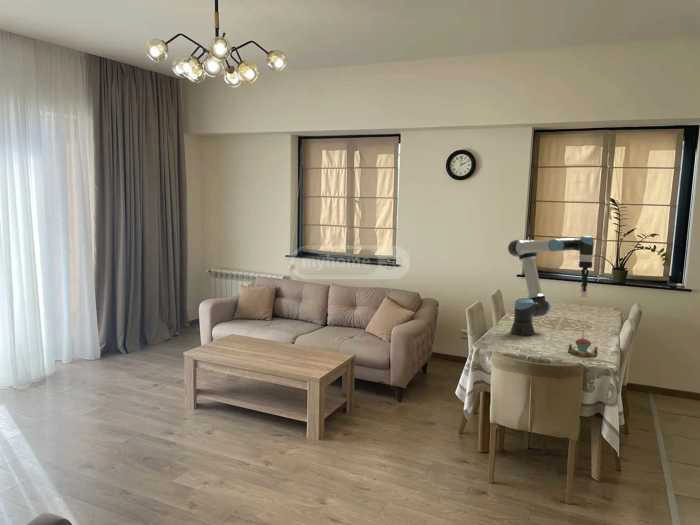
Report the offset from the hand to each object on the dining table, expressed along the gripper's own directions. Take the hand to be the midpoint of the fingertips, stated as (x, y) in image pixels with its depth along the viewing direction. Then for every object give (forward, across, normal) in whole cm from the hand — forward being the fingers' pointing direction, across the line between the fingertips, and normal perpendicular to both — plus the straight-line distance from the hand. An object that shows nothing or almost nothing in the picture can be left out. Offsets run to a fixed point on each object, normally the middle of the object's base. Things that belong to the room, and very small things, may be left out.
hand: (583, 294), depth 329 cm
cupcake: (+30, -21, -1) cm, 37 cm away
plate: (+32, -21, -1) cm, 38 cm away
